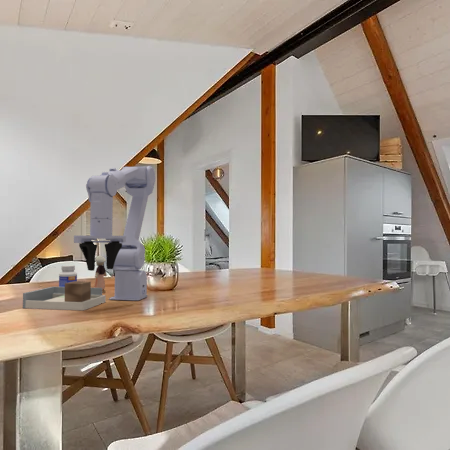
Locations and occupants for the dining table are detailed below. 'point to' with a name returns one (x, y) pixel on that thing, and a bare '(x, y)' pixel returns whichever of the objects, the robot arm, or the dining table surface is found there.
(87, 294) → the walnut block
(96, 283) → the grandmother figurine
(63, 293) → the board
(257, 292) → the dining table surface
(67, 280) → the pill bottle
